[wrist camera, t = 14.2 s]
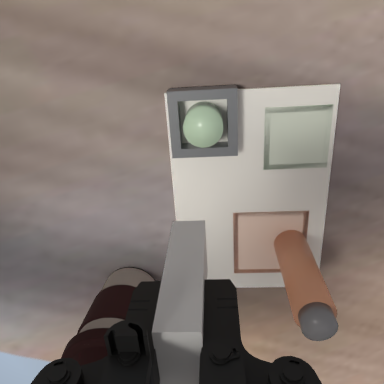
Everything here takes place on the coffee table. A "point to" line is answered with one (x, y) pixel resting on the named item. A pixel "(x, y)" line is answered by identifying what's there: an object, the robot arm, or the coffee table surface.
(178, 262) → the robot arm
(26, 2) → the coffee table surface
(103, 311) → the coffee cup
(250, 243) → the sheet
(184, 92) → the button housing
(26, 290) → the coffee table surface
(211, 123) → the button
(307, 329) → the marker
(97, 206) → the coffee table surface
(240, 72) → the coffee table surface
